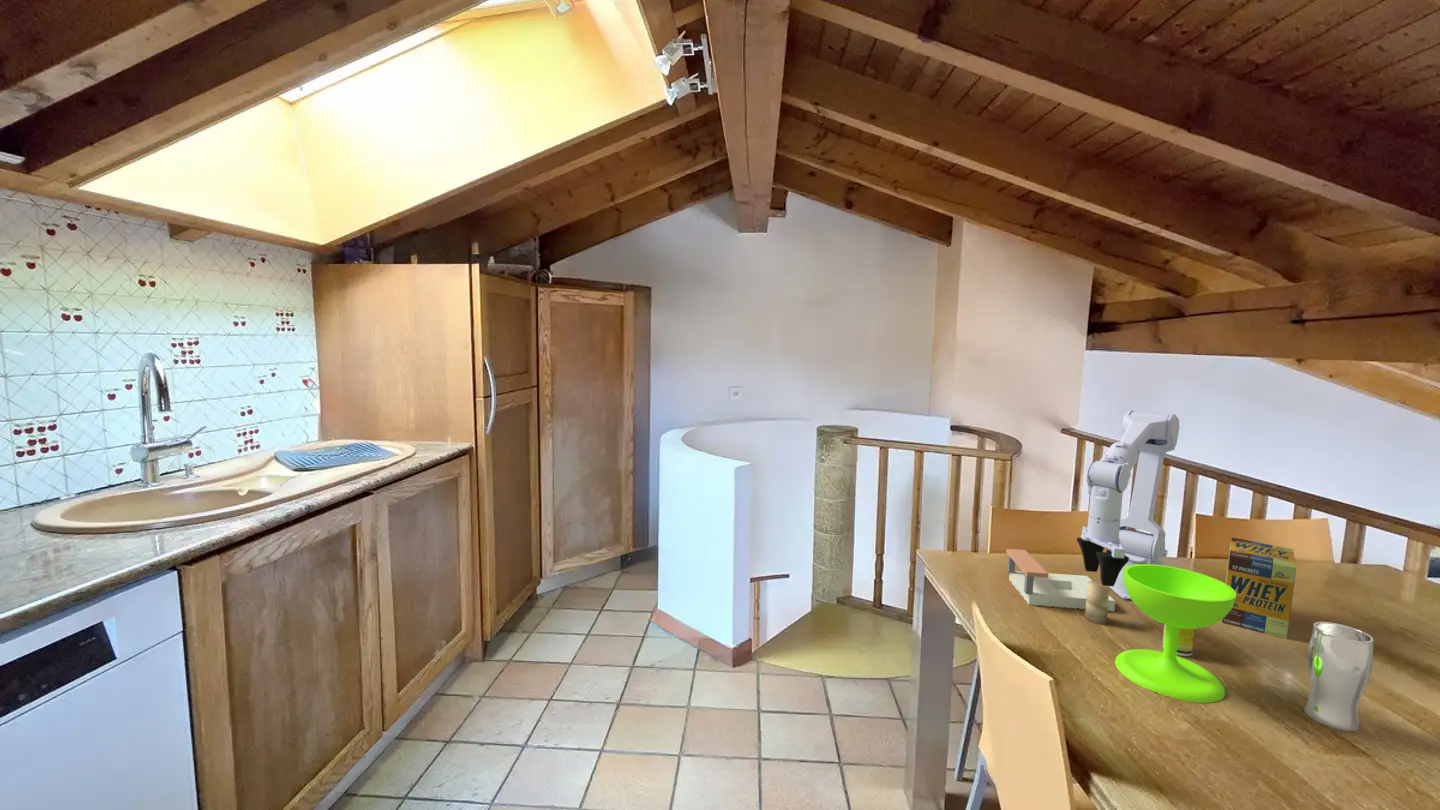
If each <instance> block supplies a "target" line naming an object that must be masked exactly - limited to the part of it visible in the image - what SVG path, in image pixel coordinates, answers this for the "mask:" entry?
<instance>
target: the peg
mask: <svg viewBox="0 0 1440 810" xmlns="http://www.w3.org/2000/svg"><path fill="white" fill-rule="evenodd" d="M1110 590H1111V588H1110V586H1103V585H1102V583H1101V581H1098V580H1092V581H1089V582H1088V586H1087V598H1086V609H1084V610H1085V612H1084V618H1086V619H1087V620H1086V619H1085V620H1086V621H1088V622H1090V623H1092V622H1093V624H1095V625H1096V624H1097V625H1105V623H1106V624H1107V623H1108V622H1107V620H1108V612H1109V611H1108V600H1109V596H1110Z"/></svg>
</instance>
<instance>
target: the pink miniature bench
mask: <svg viewBox="0 0 1440 810" xmlns="http://www.w3.org/2000/svg"><path fill="white" fill-rule="evenodd" d="M1005 553H1006V555H1007V565H1006V567H1007V568H1006V571H1007V573H1008V574H1010V573H1015V571H1016V566H1017V567H1018V568H1019V569H1020V571H1022V572H1024V574H1025V584H1024V592H1025V593H1026V594H1032V595H1033V582H1034V577H1045V578H1048V573H1049V572H1047V570H1046V569H1044V567H1043V566H1042V565H1041V564H1040V563H1039V562H1038V561H1037V560H1036V559H1035V558H1034V557H1033V556H1032V555H1031V554H1030V553H1029V552H1028V551H1027V550H1026V549H1015V548H1013V549H1012V548H1006V550H1005Z"/></svg>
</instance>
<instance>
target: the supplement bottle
mask: <svg viewBox="0 0 1440 810" xmlns="http://www.w3.org/2000/svg"><path fill="white" fill-rule="evenodd" d="M1165 629H1166V624H1163V632H1162V633H1163V634H1162V642H1161V643H1162V645H1161V647H1162V648H1163V649H1164V639H1165ZM1195 632H1196V629H1183V628H1179V634H1178V644H1177V653H1176V656H1178V657H1190V656H1192V655H1193V652H1194V645H1195V643H1194V642H1195Z"/></svg>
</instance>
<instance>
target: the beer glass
mask: <svg viewBox="0 0 1440 810" xmlns="http://www.w3.org/2000/svg"><path fill="white" fill-rule="evenodd" d="M1312 625H1313V626H1312V630H1311V634H1310V638H1309V643H1308V649H1307V650H1308V651H1307V664H1308V672H1309V681H1310V683H1309V684H1310V692H1309V697H1308V699H1307V701H1306V704H1305V706H1304V713H1305V714H1306V715H1307V716H1308V717H1309V718H1310V717H1311V718H1310V719H1312V720H1313V719H1314V720H1313V721H1315V720H1316V721H1315V722H1317V723H1319V724H1321V725H1324V726H1325V725H1326V726H1327V727H1328V728H1331V729H1334V730H1338V731H1343V732H1356V731H1359V728H1360V724H1359V715H1358V708H1359V704H1360V703H1359V702H1360V701H1361V697H1362V695H1363V693H1364V690H1365V688H1366V687H1367V684H1368V683H1369V679H1370V676H1371V674H1372V668H1373V659H1374V638H1373V637H1372V636H1371V634H1369V633H1366V632H1365V631H1362V630H1360V629H1358V628H1354V627H1351V626H1348V625H1345V624H1340V623H1336V622H1329V621H1316V622H1314V623H1313V624H1312Z"/></svg>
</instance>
